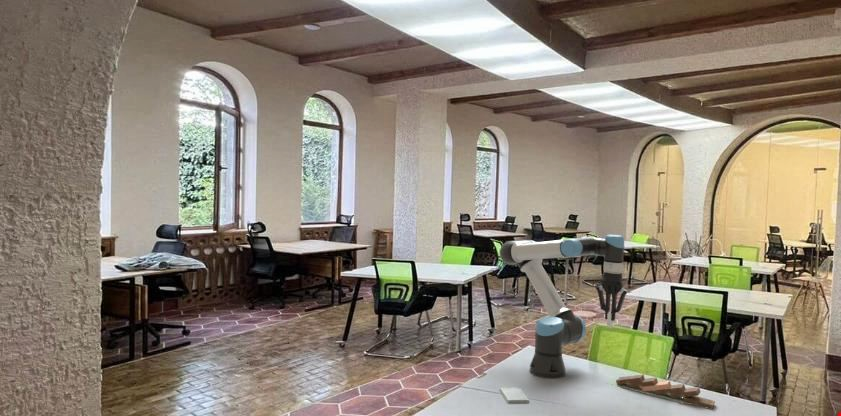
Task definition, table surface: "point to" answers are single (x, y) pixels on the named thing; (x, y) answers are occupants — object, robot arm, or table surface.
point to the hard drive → (514, 395)
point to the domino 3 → (657, 386)
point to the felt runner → (645, 391)
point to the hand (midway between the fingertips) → (609, 327)
